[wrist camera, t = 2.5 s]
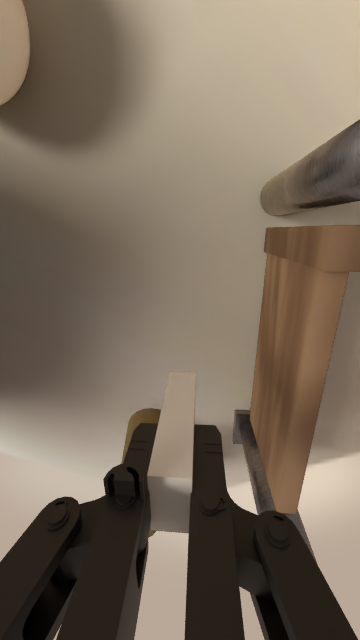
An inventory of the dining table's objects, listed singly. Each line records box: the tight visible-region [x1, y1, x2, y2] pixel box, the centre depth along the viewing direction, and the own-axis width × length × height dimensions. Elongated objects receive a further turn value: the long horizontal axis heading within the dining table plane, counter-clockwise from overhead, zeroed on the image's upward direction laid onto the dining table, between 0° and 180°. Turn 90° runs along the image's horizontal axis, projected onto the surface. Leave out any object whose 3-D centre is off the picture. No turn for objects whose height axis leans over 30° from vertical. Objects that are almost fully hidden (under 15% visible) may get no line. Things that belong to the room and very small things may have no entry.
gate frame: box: [233, 120, 360, 563], centre depth 19 cm, size 4×28×14 cm, turn 0°
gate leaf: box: [250, 225, 360, 514], centre depth 19 cm, size 2×20×11 cm, turn 0°
